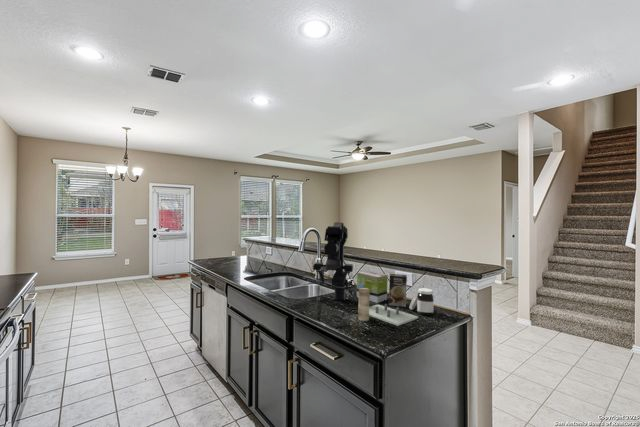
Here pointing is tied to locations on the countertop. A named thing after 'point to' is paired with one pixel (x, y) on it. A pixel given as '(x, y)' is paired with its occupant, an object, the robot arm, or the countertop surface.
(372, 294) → the tea box
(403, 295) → the coffee box
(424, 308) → the spread jar
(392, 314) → the standoff plate
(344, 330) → the countertop surface
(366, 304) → the birch cylinder
